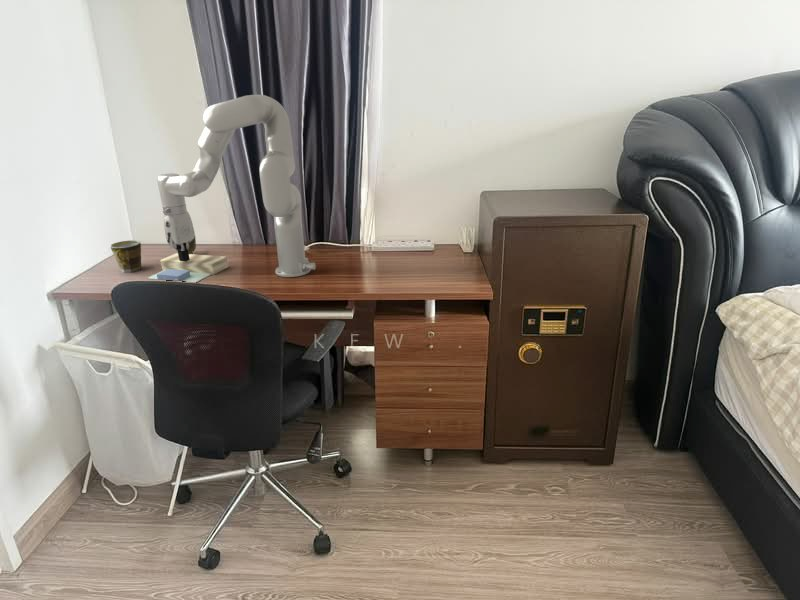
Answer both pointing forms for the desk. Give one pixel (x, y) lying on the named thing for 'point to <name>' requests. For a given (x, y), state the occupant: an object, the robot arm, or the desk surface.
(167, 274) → the blue rectangular block
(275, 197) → the robot arm
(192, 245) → the cup
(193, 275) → the mat
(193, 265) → the block
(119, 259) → the ceramic cup
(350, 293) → the desk surface
